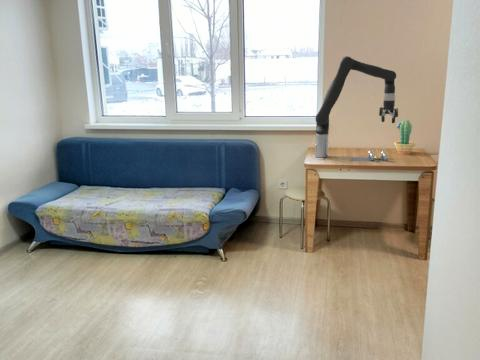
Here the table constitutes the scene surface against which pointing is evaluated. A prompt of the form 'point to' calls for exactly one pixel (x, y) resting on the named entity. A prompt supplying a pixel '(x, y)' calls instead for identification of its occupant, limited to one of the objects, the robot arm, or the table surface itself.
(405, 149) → the potted cactus
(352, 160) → the mat
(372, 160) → the cylinder
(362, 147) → the table surface
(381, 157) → the spacer back right
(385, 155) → the cylinder
